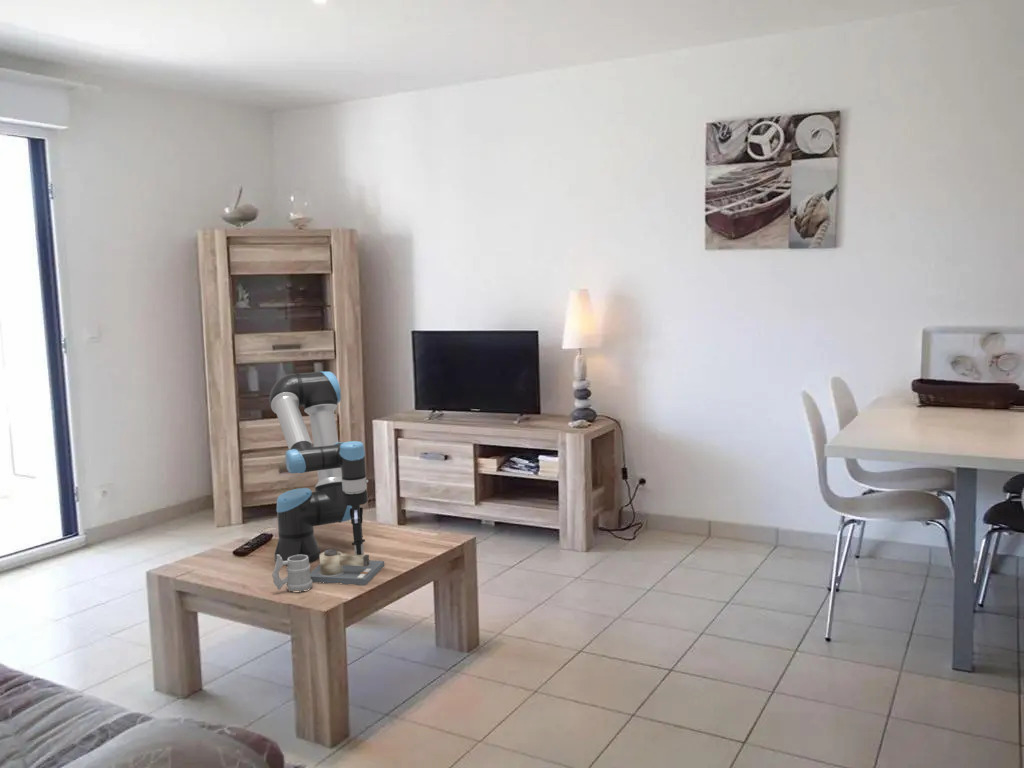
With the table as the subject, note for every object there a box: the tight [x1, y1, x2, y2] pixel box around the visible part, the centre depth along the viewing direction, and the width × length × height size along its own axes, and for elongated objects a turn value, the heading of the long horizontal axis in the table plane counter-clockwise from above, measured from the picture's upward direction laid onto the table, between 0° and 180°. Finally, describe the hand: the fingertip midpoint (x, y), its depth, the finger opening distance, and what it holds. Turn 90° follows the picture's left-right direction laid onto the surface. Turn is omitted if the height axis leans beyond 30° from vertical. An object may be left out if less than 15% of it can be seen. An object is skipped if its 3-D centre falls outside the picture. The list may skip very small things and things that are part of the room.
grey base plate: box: [310, 559, 385, 586], centre depth 273 cm, size 20×17×2 cm
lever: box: [319, 548, 370, 575], centre depth 268 cm, size 16×7×7 cm, turn 77°
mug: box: [272, 554, 313, 593], centre depth 260 cm, size 8×12×12 cm, turn 119°
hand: (359, 563), depth 269 cm, fingers closed
